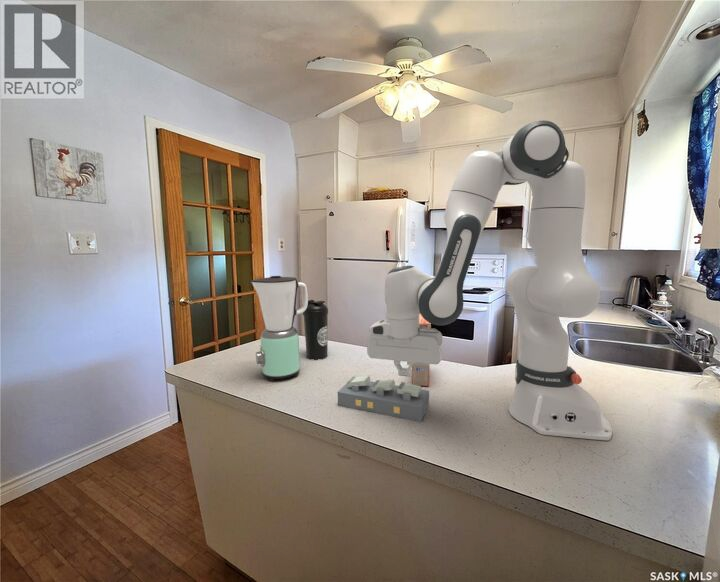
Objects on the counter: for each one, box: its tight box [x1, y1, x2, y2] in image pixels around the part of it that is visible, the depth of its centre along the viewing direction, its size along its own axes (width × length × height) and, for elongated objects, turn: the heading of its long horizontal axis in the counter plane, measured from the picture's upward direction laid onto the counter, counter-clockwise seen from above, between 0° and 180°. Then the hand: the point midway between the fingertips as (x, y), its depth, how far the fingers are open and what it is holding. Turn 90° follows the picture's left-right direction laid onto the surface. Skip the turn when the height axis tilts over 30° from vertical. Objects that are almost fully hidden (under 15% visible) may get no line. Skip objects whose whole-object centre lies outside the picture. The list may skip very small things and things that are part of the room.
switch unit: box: [337, 380, 430, 423], centre depth 93 cm, size 24×10×6 cm, turn 67°
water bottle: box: [302, 299, 329, 361], centre depth 132 cm, size 10×10×23 cm
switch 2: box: [371, 379, 396, 391], centre depth 93 cm, size 6×4×2 cm
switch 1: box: [346, 375, 371, 387], centre depth 95 cm, size 6×4×2 cm
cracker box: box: [411, 313, 432, 387], centre depth 110 cm, size 14×6×21 cm, turn 168°
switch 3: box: [397, 381, 422, 397], centre depth 90 cm, size 6×4×2 cm
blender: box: [250, 275, 309, 383], centre depth 114 cm, size 19×13×35 cm
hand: (404, 375), depth 90 cm, fingers closed
